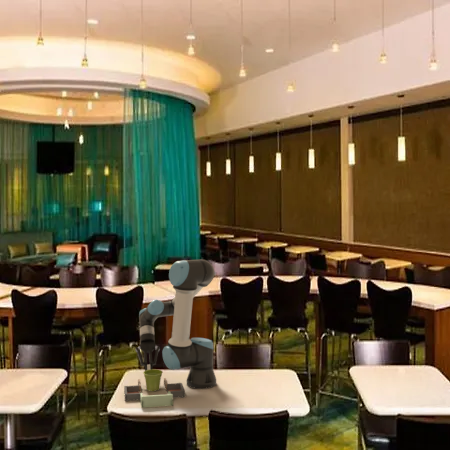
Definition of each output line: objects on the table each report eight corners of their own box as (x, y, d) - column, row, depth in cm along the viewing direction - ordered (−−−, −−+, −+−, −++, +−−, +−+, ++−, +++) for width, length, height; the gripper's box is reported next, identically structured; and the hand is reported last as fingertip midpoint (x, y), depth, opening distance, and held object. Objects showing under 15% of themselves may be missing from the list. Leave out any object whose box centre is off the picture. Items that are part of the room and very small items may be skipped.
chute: (137, 385, 281) (137, 379, 281) (165, 383, 284) (165, 378, 284) (138, 392, 271) (139, 385, 271) (167, 390, 274) (167, 384, 274)
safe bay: (140, 399, 262) (140, 388, 261) (170, 397, 264) (170, 386, 264) (141, 407, 251) (141, 396, 251) (172, 405, 254) (172, 394, 253)
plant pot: (160, 393, 270) (160, 375, 270) (141, 392, 271) (141, 374, 271) (164, 386, 279) (164, 369, 279) (145, 386, 280) (145, 368, 280)
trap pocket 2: (166, 389, 275) (166, 383, 275) (181, 388, 277) (181, 382, 276) (169, 398, 263) (169, 391, 263) (185, 397, 265) (185, 390, 265)
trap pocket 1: (124, 392, 271) (124, 386, 271) (139, 391, 272) (139, 385, 272) (124, 400, 259) (125, 394, 259) (141, 399, 261) (141, 393, 261)
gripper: (159, 339, 299) (161, 380, 283) (134, 340, 296) (135, 381, 281) (160, 331, 293) (162, 373, 278) (134, 332, 291) (136, 374, 275)
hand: (149, 377), depth 279 cm, fingers closed
